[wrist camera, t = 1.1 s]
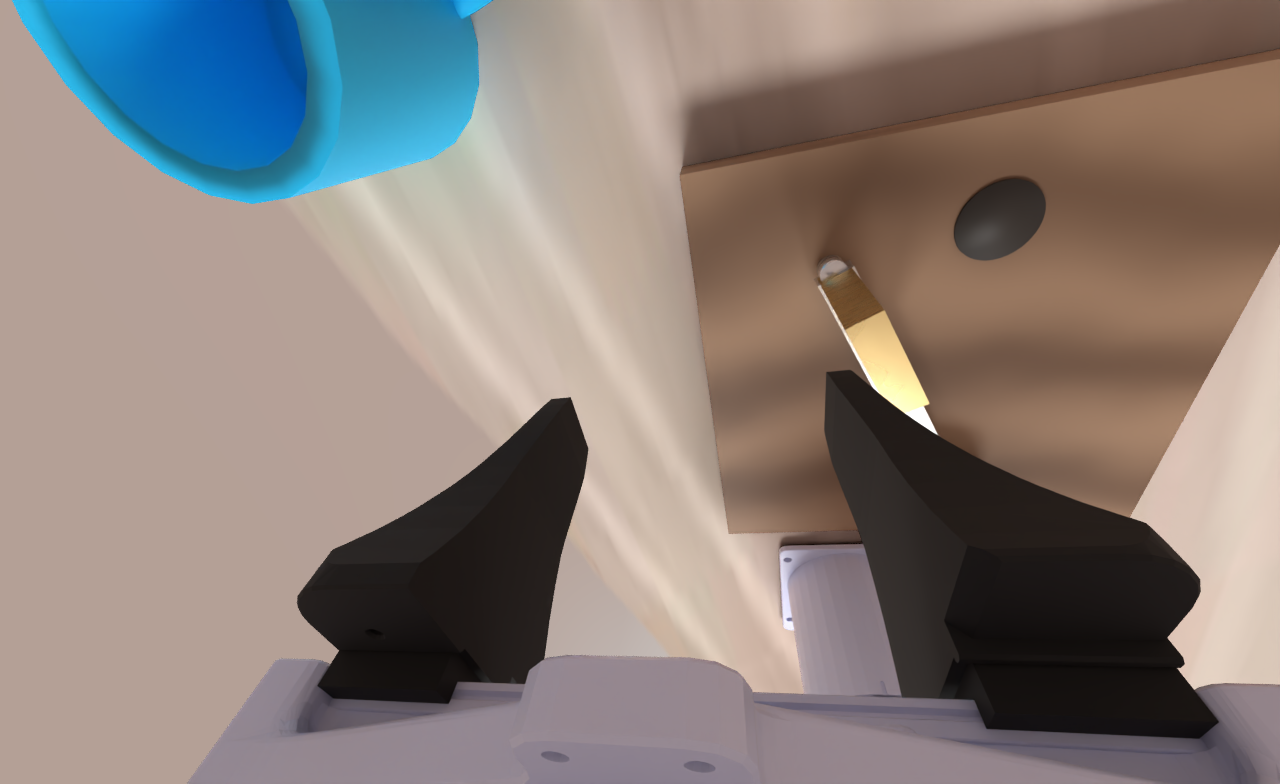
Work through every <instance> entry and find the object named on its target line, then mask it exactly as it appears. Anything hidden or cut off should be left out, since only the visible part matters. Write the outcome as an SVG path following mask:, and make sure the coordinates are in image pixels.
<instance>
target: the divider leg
mask: <svg viewBox="0 0 1280 784" xmlns="http://www.w3.org/2000/svg"><path fill="white" fill-rule="evenodd" d="M817 274H818V277H816V278H815V279H814V280H815V282H816V284H817V286H818V288H819V290H820V291H821V293H822V295H823V297H824V299H825V301H826V302H827V304H828V306H829V308H830V310H831V312H832V313H833V315H834V317H835V319H836V321H837V323H838V324H839V326H840V328H841V330H842V332H843V334H844V336H845V337H846V339H847V341H848V343H849V345H850V347H851V348H852V350H853V352H854V354H855V356H856V358H857V359H858V361H859V363H860V365H861V367H862V369H863V371H864V372H865V374H866V376H867V378H868V380H869V382H870V383H871V385H872V387H873V388H874V389H875V390H876V391H877V392H878V393H880V394H881V395H882V396H883V397H885V398H886V399H887V400H888V401H890V402H891V403H892V404H894V405H895V406H896V407H897V408H899V409H900V410H901V411H903V412H904V413H906V414H907V415H908V416H910V417H911V418H913V419H914V420H915V421H917V422H918V423H920V424H921V425H923V426H924V427H926V428H927V429H929V430H930V431H932V432H933V433H935V434H937V432H936V430H935V428H934V426H933V424H932V422H931V420H930V418H929V416H928V414H927V412H926V410H925V408H924V406H925V405H928V404H930V403H929V401H928V399H927V397H926V395H925V393H924V391H923V389H922V387H921V385H920V382H919V380H918V378H917V376H916V374H915V372H914V370H913V368H912V366H911V364H910V362H909V360H908V358H907V356H906V354H905V351H904V349H903V347H902V345H901V343H900V341H899V339H898V337H897V335H896V333H895V331H894V329H893V327H892V325H891V323H890V320H889V318H888V316H887V314H886V312H885V310H884V309H883V308H882V306H881V305H880V304H879V302H878V301H877V300H876V298H875V297H874V296H873V295H872V293H871V292H870V291H869V289H868V288H867V287H866V285H865V284H864V283H863V282H862V280H861V278H860V276H859V274H858V272H857V270H856V268H855V266H854V265H853V264H852V262H851V261H850V260H847V261H845V262H844V261H843V260H842V259H841V258H840V257H839V256H837V255H828V256H826V257H824V258H822V259H821V260H820V261H819V263H818V265H817ZM937 435H938V434H937Z"/></svg>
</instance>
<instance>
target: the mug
mask: <svg viewBox="0 0 1280 784" xmlns="http://www.w3.org/2000/svg"><path fill="white" fill-rule="evenodd" d="M12 1H13V3H14V5H15V7H16V9H17V12H18V14H19V16H20V18H21V20H22V22H23V24H24V25H25V26H26V28H27V29H28V31H29V32H30V34H31V35H32V37H33V38H34V39H35V41H36V42H37V44H38V45H39V47H40V48H41V50H42V51H43V52H44V54H45V55H46V57H47V58H48V59H49V61H50V62H51V64H52V65H53V67H54V68H55V69H56V71H57V73H58V74H59V75H60V77H61V78H62V80H63V81H64V83H65V84H66V85H67V86H68V87H69V88H70V90H71V91H72V92H73V93H74V94H75V95H76V96H77V97H78V98H79V99H80V100H81V101H82V102H83V103H84V104H85V105H86V106H87V107H88V109H90V111H91V112H92V113H93V114H94V115H95V116H96V117H97V118H98V119H99V120H100V121H101V122H102V123H103V124H104V125H105V127H106V128H107V129H108V130H109V131H110V132H111V133H112V134H113V135H114V136H116V137H117V138H118V139H120V140H121V141H122V142H123V143H125V144H126V145H127V146H129V147H130V148H131V149H133V150H134V151H135V152H137V153H138V154H139V155H140V156H142V157H143V158H144V159H146V160H147V161H148V162H150V163H151V164H152V165H154V166H155V167H156V168H158V169H159V170H160V171H162V172H163V173H165V174H167V175H169V176H172V177H173V178H176V179H177V180H179V181H181V182H184V183H185V184H188V185H190V186H192V187H194V188H196V189H198V190H200V191H202V192H204V193H206V194H208V195H211V196H216V197H221V198H226V199H231V200H236V201H241V202H246V203H251V204H255V203H261V202H266V201H273V200H279V199H285V198H291V197H294V196H298V195H301V194H305V193H309V192H312V191H316V190H319V189H323V188H327V187H330V186H334V185H337V184H341V183H344V182H348V181H352V180H355V179H359V178H362V177H366V176H370V175H373V174H377V173H380V172H384V171H388V170H391V169H395V168H398V167H402V166H405V165H409V164H413V163H416V162H420V161H423V160H427V159H431V158H433V157H435V156H436V155H438V154H439V153H441V152H442V151H444V150H445V149H447V148H448V147H450V146H451V145H453V144H454V143H455V142H456V140H457V139H458V137H459V136H460V134H461V133H462V131H463V130H464V128H465V126H466V125H467V123H468V122H469V120H470V119H471V116H472V112H473V108H474V103H475V99H476V95H477V91H478V87H479V65H478V43H477V39H476V36H475V32H474V28H473V25H472V21H471V18H470V15H471V14H473V13H474V12H476V11H478V10H479V9H481V8H482V7H484V6H485V5H487V4H488V3H490V2H491V1H493V0H12Z"/></svg>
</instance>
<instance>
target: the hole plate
mask: <svg viewBox="0 0 1280 784" xmlns="http://www.w3.org/2000/svg"><path fill="white" fill-rule="evenodd" d="M680 181H681V188H682V195H683V203H684V210H685V217H686V225H687V232H688V239H689V247H690V254H691V261H692V268H693V276H694V283H695V290H696V298H697V305H698V312H699V320H700V327H701V334H702V342H703V349H704V356H705V364H706V371H707V378H708V386H709V393H710V400H711V408H712V415H713V422H714V429H715V437H716V444H717V451H718V459H719V466H720V473H721V481H722V488H723V495H724V503H725V510H726V517H727V525H728V532H729V534H738V533H772V532H807V531H842V530H858V528H857V526H856V523H855V521H854V518H853V516H852V513H851V511H850V508H849V506H848V503H847V501H846V498H845V496H844V493H843V491H842V488H841V485H840V483H839V480H838V478H837V475H836V473H835V470H834V467H833V465H832V462H831V458H830V454H829V450H828V446H827V441H826V437H825V433H824V420H825V392H826V372H831V371H842V370H852V371H853V372H854V373H856V374H857V375H858V376H859V377H860V378H862V379H863V380H864V381H865V382H866V383H868V384H869V385H870V386H871V387H872V385H871V383H870V382H869V380H868V378H867V376H866V374H865V372H864V371H863V369H862V367H861V365H860V363H859V361H858V359H857V358H856V356H855V354H854V352H853V350H852V348H851V347H850V345H849V343H848V341H847V339H846V337H845V336H844V334H843V332H842V330H841V328H840V326H839V324H838V323H837V321H836V319H835V317H834V315H833V313H832V312H831V310H830V308H829V306H828V304H827V302H826V301H825V299H824V297H823V295H822V293H821V291H820V290H819V288H818V286H817V284H816V282H815V280H814V279H815V278H816V277H818V274H817V265H818V263H819V261H820V260H821V259H822V258H824V257H826V256H828V255H837V256H839V257H840V258H841V259H842V260H843V261H844V262H845V261H847V260H850V261H851V262H852V264H853V265H854V266H855V268H856V270H857V272H858V274H859V276H860V278H861V280H862V282H863V283H864V284H865V285H866V287H867V288H868V289H869V291H870V292H871V293H872V295H873V296H874V297H875V298H876V300H877V301H878V302H879V304H880V305H881V306H882V308H883V309H884V310H885V312H886V314H887V316H888V318H889V320H890V323H891V325H892V327H893V329H894V331H895V333H896V335H897V337H898V339H899V341H900V343H901V345H902V347H903V349H904V351H905V354H906V356H907V358H908V360H909V362H910V364H911V366H912V368H913V370H914V372H915V374H916V376H917V378H918V380H919V382H920V385H921V387H922V389H923V391H924V393H925V395H926V397H927V399H928V401H929V403H930V404H928V405H925V406H924V408H925V410H926V412H927V414H928V416H929V418H930V420H931V422H932V424H933V426H934V428H935V430H936V432H937V434H938V436H940V437H942V438H943V439H945V440H947V441H948V442H950V443H952V444H954V445H955V446H957V447H959V448H961V449H963V450H964V451H966V452H968V453H970V454H972V455H973V456H975V457H977V458H979V459H981V460H983V461H985V462H987V463H989V464H991V465H994V466H996V467H998V468H1000V469H1002V470H1004V471H1006V472H1009V473H1011V474H1013V475H1015V476H1017V477H1019V478H1022V479H1024V480H1027V481H1029V482H1031V483H1034V484H1036V485H1038V486H1041V487H1043V488H1046V489H1049V490H1051V491H1054V492H1056V493H1059V494H1062V495H1064V496H1067V497H1069V498H1072V499H1075V500H1077V501H1080V502H1083V503H1086V504H1089V505H1092V506H1095V507H1098V508H1101V509H1104V510H1107V511H1111V512H1114V513H1117V514H1120V515H1123V516H1126V517H1129V518H1130V516H1131V514H1132V512H1133V510H1134V509H1135V507H1136V505H1137V503H1138V501H1139V499H1140V498H1141V496H1142V494H1143V492H1144V490H1145V489H1146V487H1147V485H1148V483H1149V481H1150V479H1151V478H1152V476H1153V474H1154V472H1155V470H1156V468H1157V467H1158V465H1159V463H1160V461H1161V459H1162V458H1163V456H1164V454H1165V452H1166V450H1167V448H1168V447H1169V445H1170V443H1171V441H1172V439H1173V438H1174V436H1175V434H1176V432H1177V430H1178V428H1179V427H1180V425H1181V423H1182V421H1183V419H1184V418H1185V416H1186V414H1187V412H1188V410H1189V408H1190V407H1191V405H1192V403H1193V401H1194V399H1195V398H1196V396H1197V394H1198V392H1199V390H1200V388H1201V387H1202V385H1203V383H1204V381H1205V379H1206V378H1207V376H1208V374H1209V372H1210V370H1211V368H1212V367H1213V365H1214V363H1215V361H1216V359H1217V358H1218V356H1219V354H1220V352H1221V350H1222V348H1223V347H1224V345H1225V343H1226V341H1227V339H1228V338H1229V336H1230V334H1231V332H1232V330H1233V328H1234V327H1235V325H1236V323H1237V321H1238V319H1239V318H1240V316H1241V314H1242V312H1243V310H1244V308H1245V307H1246V305H1247V303H1248V301H1249V299H1250V298H1251V296H1252V294H1253V292H1254V290H1255V288H1256V287H1257V285H1258V283H1259V281H1260V279H1261V278H1262V276H1263V274H1264V272H1265V270H1266V268H1267V267H1268V265H1269V263H1270V261H1271V259H1272V257H1273V256H1274V254H1275V252H1276V250H1277V248H1278V247H1279V245H1280V49H1276V50H1271V51H1266V52H1261V53H1256V54H1251V55H1246V56H1241V57H1236V58H1231V59H1226V60H1221V61H1216V62H1211V63H1206V64H1201V65H1195V66H1190V67H1185V68H1180V69H1175V70H1170V71H1165V72H1160V73H1155V74H1150V75H1145V76H1140V77H1135V78H1130V79H1125V80H1119V81H1114V82H1109V83H1104V84H1099V85H1094V86H1089V87H1084V88H1079V89H1074V90H1069V91H1064V92H1059V93H1054V94H1049V95H1044V96H1038V97H1033V98H1028V99H1023V100H1018V101H1013V102H1008V103H1003V104H998V105H993V106H988V107H983V108H978V109H973V110H968V111H963V112H957V113H952V114H947V115H942V116H937V117H932V118H927V119H922V120H917V121H912V122H907V123H902V124H897V125H892V126H887V127H881V128H876V129H871V130H866V131H861V132H856V133H851V134H846V135H841V136H836V137H831V138H826V139H821V140H816V141H811V142H806V143H800V144H795V145H790V146H785V147H780V148H775V149H770V150H765V151H760V152H755V153H750V154H745V155H740V156H735V157H730V158H725V159H719V160H714V161H709V162H704V163H699V164H694V165H689V166H684V167H682V169H681V173H680ZM872 388H873V387H872Z"/></svg>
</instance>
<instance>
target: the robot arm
mask: <svg viewBox="0 0 1280 784" xmlns="http://www.w3.org/2000/svg"><path fill="white" fill-rule="evenodd" d="M824 433H825V437H826V441H827V446H828V450H829V454H830V458H831V462H832V465H833V467H834V470H835V473H836V475H837V478H838V480H839V483H840V485H841V488H842V491H843V493H844V496H845V498H846V501H847V503H848V506H849V508H850V511H851V513H852V516H853V518H854V521H855V523H856V526H857V528H858V531H859V534H860V536H861V539H862V542H863V544H839V545H795V546H783V547H781V548H780V549H779V560H780V580H781V600H782V620H783V627H784V628H785V629H787V630H794V633H795V640H796V646H797V652H798V659H799V665H800V672H801V678H802V684H803V691H804V694H789V693H761V692H752V689H751V688H750V686H749V685H748V683H747V682H746V681H745V679H744V678H743V677H742V676H741V675H740V674H739V673H738V672H737V671H735V670H733V669H731V668H729V667H726V666H724V665H722V664H720V663H718V662H715V661H708V660H702V659H695V658H684V657H637V656H636V657H635V656H589V655H587V656H586V655H566V656H557V657H550V658H546V659H544V656H545V649H546V642H547V635H548V628H549V620H550V614H551V608H552V602H553V595H554V590H555V584H556V578H557V574H558V568H559V563H560V557H561V554H562V550H563V546H564V542H565V539H566V536H567V532H568V529H569V526H570V523H571V519H572V516H573V513H574V510H575V506H576V503H577V500H578V497H579V493H580V490H581V487H582V483H583V479H584V474H585V469H586V462H587V455H588V446H587V443H586V441H585V438H584V435H583V432H582V429H581V426H580V423H579V420H578V417H577V414H576V411H575V408H574V406H573V403H572V400H571V397H569V398H559V399H551V400H550V401H549V402H548V403H547V404H545V405H544V406H543V407H542V408H541V409H540V410H539V411H538V412H537V413H536V414H535V415H534V416H533V417H532V418H531V419H530V420H529V421H528V422H527V423H525V424H524V425H523V426H522V427H521V428H520V429H519V430H518V431H517V432H516V433H515V434H514V435H513V436H512V437H511V438H510V439H509V440H508V441H507V442H505V443H504V444H503V445H502V446H501V447H500V448H499V449H497V450H496V451H495V452H494V453H493V454H492V455H491V456H490V457H488V458H487V459H486V460H485V461H484V462H482V463H481V464H480V465H479V466H478V467H476V468H475V469H474V470H472V471H471V472H470V473H469V474H467V475H466V476H465V477H463V478H462V479H461V480H459V481H458V482H457V483H455V484H453V485H452V486H451V487H449V488H448V489H446V490H445V491H443V492H441V493H440V494H438V495H437V496H435V497H434V498H432V499H430V500H429V501H427V502H426V503H424V504H423V505H421V506H419V507H418V508H416V509H414V510H412V511H411V512H409V513H407V514H405V515H404V516H402V517H400V518H398V519H396V520H394V521H392V522H391V523H389V524H387V525H385V526H383V527H381V528H379V529H377V530H375V531H373V532H371V533H369V534H366V535H364V536H362V537H360V538H358V539H355V540H353V541H351V542H349V543H347V544H345V545H342V546H340V547H338V548H335V549H333V550H332V551H331V552H330V554H329V555H328V557H327V558H326V559H325V561H324V562H323V563H322V564H321V566H320V567H319V568H318V570H317V571H316V572H315V574H314V575H313V576H312V578H311V579H310V580H309V582H308V583H307V584H306V586H305V587H304V588H303V590H302V591H301V592H300V594H299V595H298V598H297V599H298V600H297V604H298V608H299V610H300V612H301V614H302V616H303V617H304V618H305V619H306V620H307V621H308V623H310V625H312V626H313V627H314V628H315V629H316V630H317V631H318V632H320V634H321V635H323V636H324V637H325V638H326V639H327V640H328V641H329V642H330V643H332V644H333V645H334V646H335V647H336V648H337V649H338V650H339V652H338V654H337V655H336V657H335V658H334V660H333V661H332V663H331V664H329V663H327V662H324V661H321V660H315V659H279V660H276V661H275V662H274V663H273V665H272V666H271V667H270V669H269V670H268V672H267V673H266V674H265V676H264V677H263V678H262V680H261V681H260V683H259V684H258V685H257V687H256V688H255V690H254V691H253V693H252V694H251V695H250V697H249V698H248V699H247V701H246V702H245V703H244V705H243V706H242V708H241V709H240V711H239V712H238V713H237V715H236V716H235V718H234V719H233V720H232V722H231V723H230V724H229V726H228V727H227V729H226V730H225V731H224V733H223V734H222V735H221V737H220V738H219V740H218V741H217V742H216V744H215V745H214V747H213V748H212V749H211V751H210V752H209V754H208V755H207V756H206V758H205V759H204V760H203V762H202V763H201V765H200V766H199V767H198V769H197V770H196V772H195V773H194V774H193V776H192V777H191V778H190V780H189V782H188V783H187V784H1280V685H1273V684H1234V683H1223V684H1211V685H1207V686H1203V687H1199V688H1197V689H1195V690H1194V689H1193V688H1192V687H1191V686H1190V684H1189V683H1188V682H1187V680H1186V679H1185V678H1184V677H1183V675H1182V674H1181V673H1180V672H1179V670H1178V669H1177V668H1181V667H1182V666H1183V665H1184V664H1185V663H1184V659H1183V657H1182V656H1181V654H1180V653H1179V652H1178V651H1177V649H1176V648H1175V647H1174V646H1173V645H1172V643H1171V642H1170V641H1169V640H1168V638H1167V637H1168V636H1169V635H1170V634H1171V633H1172V631H1173V630H1174V629H1175V628H1176V627H1177V626H1178V624H1179V623H1180V622H1181V621H1182V620H1183V618H1184V617H1185V616H1186V615H1187V614H1188V613H1189V611H1190V610H1191V609H1192V608H1193V606H1194V604H1195V602H1196V600H1197V599H1198V597H1199V594H1200V592H1201V589H1200V579H1199V577H1198V576H1197V575H1196V574H1195V572H1194V571H1193V570H1192V569H1191V567H1190V566H1189V565H1188V564H1187V563H1186V562H1185V561H1184V560H1183V559H1182V558H1181V557H1180V556H1179V555H1178V554H1177V553H1176V552H1175V551H1174V550H1173V549H1172V548H1171V547H1170V546H1169V544H1167V543H1166V542H1165V541H1164V540H1163V539H1162V538H1161V537H1160V536H1159V535H1158V534H1157V533H1156V532H1155V531H1154V530H1153V529H1152V528H1151V527H1150V526H1149V525H1148V524H1147V523H1144V522H1141V521H1138V520H1135V519H1132V518H1129V517H1126V516H1123V515H1120V514H1117V513H1114V512H1111V511H1107V510H1104V509H1101V508H1098V507H1095V506H1092V505H1089V504H1086V503H1083V502H1080V501H1077V500H1075V499H1072V498H1069V497H1067V496H1064V495H1062V494H1059V493H1056V492H1054V491H1051V490H1049V489H1046V488H1043V487H1041V486H1038V485H1036V484H1034V483H1031V482H1029V481H1027V480H1024V479H1022V478H1019V477H1017V476H1015V475H1013V474H1011V473H1009V472H1006V471H1004V470H1002V469H1000V468H998V467H996V466H994V465H991V464H989V463H987V462H985V461H983V460H981V459H979V458H977V457H975V456H973V455H972V454H970V453H968V452H966V451H964V450H963V449H961V448H959V447H957V446H955V445H954V444H952V443H950V442H948V441H947V440H945V439H943V438H942V437H940V436H938V435H937V434H935V433H933V432H932V431H930V430H929V429H927V428H926V427H924V426H923V425H921V424H920V423H918V422H917V421H915V420H914V419H913V418H911V417H910V416H908V415H907V414H906V413H904V412H903V411H901V410H900V409H899V408H897V407H896V406H895V405H894V404H892V403H891V402H890V401H888V400H887V399H886V398H885V397H883V396H882V395H881V394H880V393H878V392H877V391H876V390H875V389H874V388H872V387H871V386H870V385H869V384H868V383H866V382H865V381H864V380H863V379H862V378H860V377H859V376H858V375H857V374H856V373H854V372H853V371H852V370H842V371H831V372H826V392H825V420H824Z"/></svg>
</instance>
